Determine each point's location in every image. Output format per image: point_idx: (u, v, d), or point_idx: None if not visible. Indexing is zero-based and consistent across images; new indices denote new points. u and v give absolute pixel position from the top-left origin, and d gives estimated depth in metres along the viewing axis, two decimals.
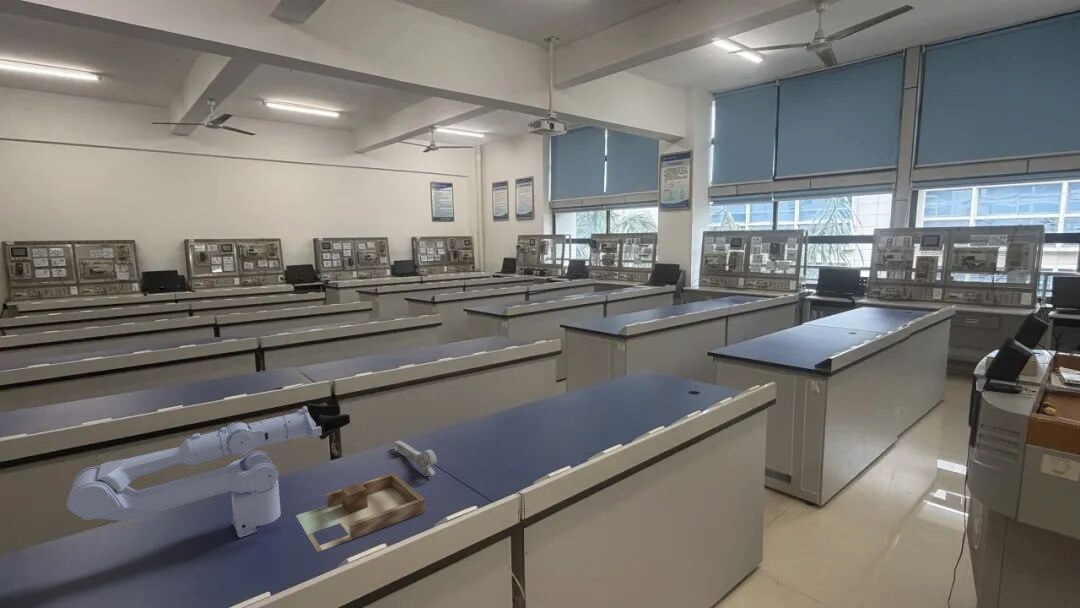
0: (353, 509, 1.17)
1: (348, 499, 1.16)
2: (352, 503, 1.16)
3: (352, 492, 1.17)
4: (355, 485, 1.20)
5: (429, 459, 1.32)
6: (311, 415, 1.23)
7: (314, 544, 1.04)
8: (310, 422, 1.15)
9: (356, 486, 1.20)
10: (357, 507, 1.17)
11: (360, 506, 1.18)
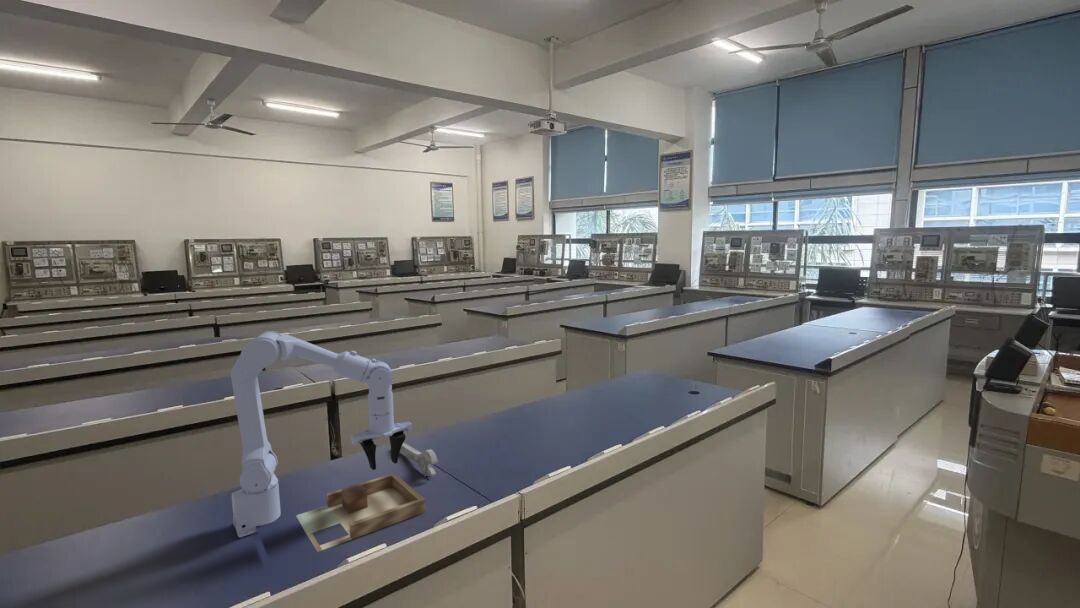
0: (353, 509, 1.17)
1: (348, 499, 1.16)
2: (352, 503, 1.16)
3: (352, 492, 1.17)
4: (355, 485, 1.20)
5: (430, 459, 1.32)
6: (393, 436, 1.24)
7: (314, 544, 1.04)
8: (366, 436, 1.18)
9: (356, 486, 1.20)
10: (357, 507, 1.17)
11: (360, 506, 1.18)
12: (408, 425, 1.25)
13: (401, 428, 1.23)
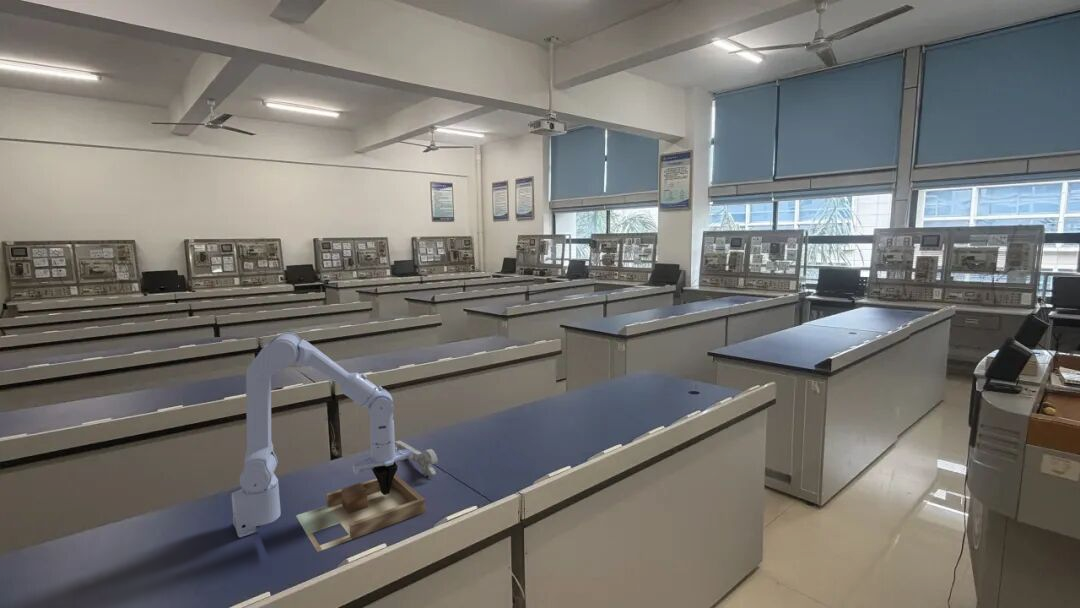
0: (353, 509, 1.17)
1: (348, 499, 1.16)
2: (352, 503, 1.16)
3: (352, 492, 1.17)
4: (355, 485, 1.20)
5: (430, 459, 1.33)
6: (385, 466, 1.23)
7: (314, 544, 1.04)
8: (368, 465, 1.19)
9: (356, 486, 1.20)
10: (357, 507, 1.17)
11: (360, 506, 1.18)
12: (409, 452, 1.26)
13: (402, 456, 1.24)
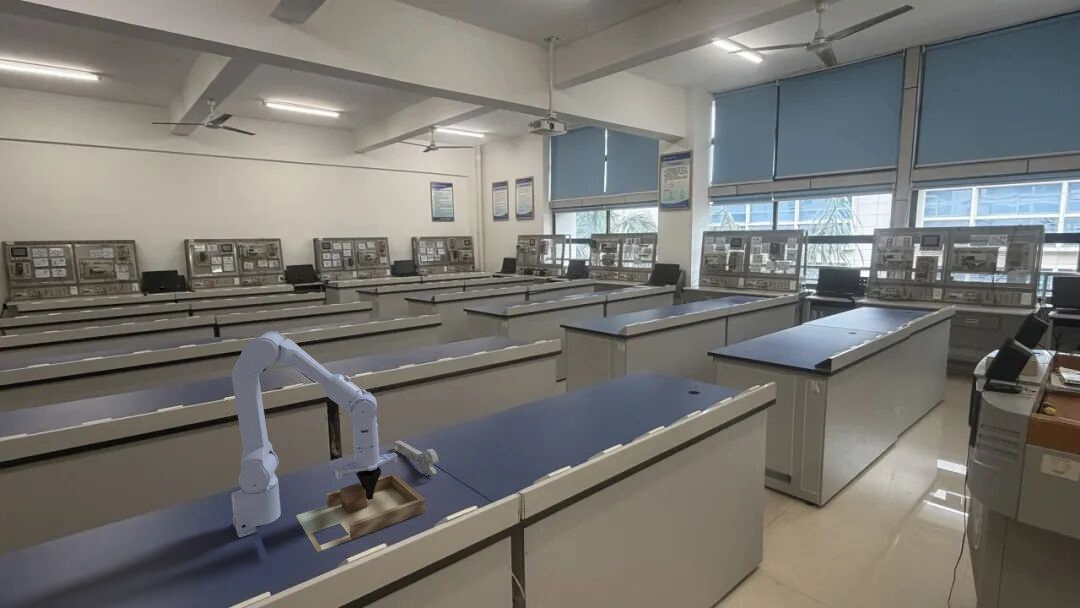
0: (352, 509, 1.16)
1: (347, 499, 1.15)
2: (351, 504, 1.16)
3: (351, 493, 1.17)
4: (354, 485, 1.20)
5: (431, 458, 1.33)
6: (368, 471, 1.20)
7: (314, 544, 1.04)
8: (350, 470, 1.16)
9: (355, 486, 1.19)
10: (356, 507, 1.17)
11: (359, 506, 1.17)
12: (394, 457, 1.23)
13: (387, 460, 1.21)
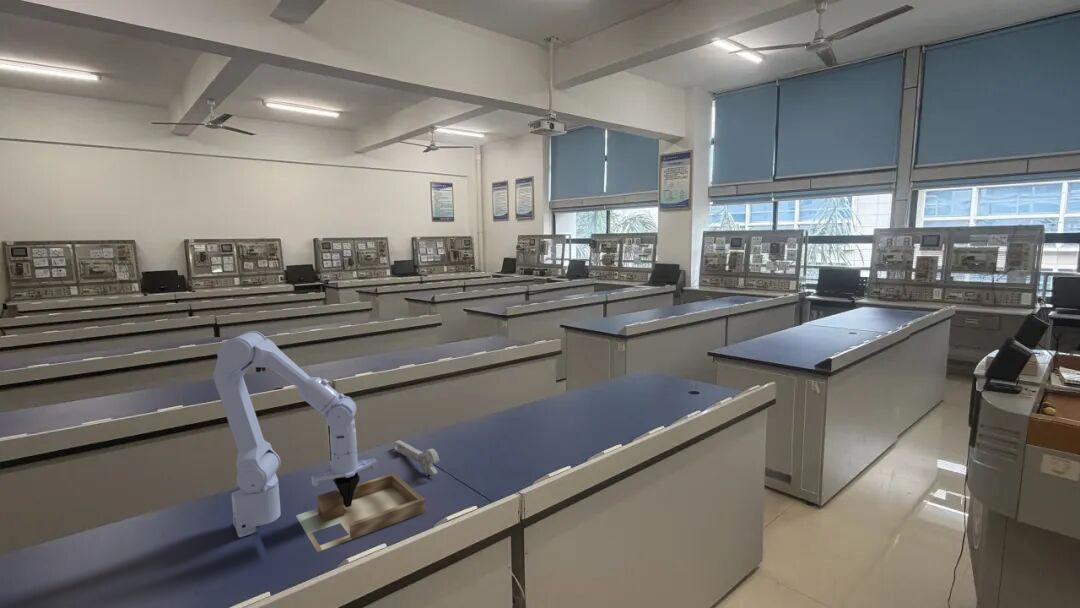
0: (329, 517, 1.13)
1: (323, 507, 1.12)
2: (328, 511, 1.13)
3: (327, 500, 1.13)
4: (331, 492, 1.17)
5: (431, 458, 1.33)
6: (346, 477, 1.17)
7: (314, 544, 1.04)
8: (327, 477, 1.13)
9: (332, 493, 1.16)
10: (333, 515, 1.14)
11: (336, 514, 1.14)
12: (373, 463, 1.20)
13: (365, 466, 1.18)
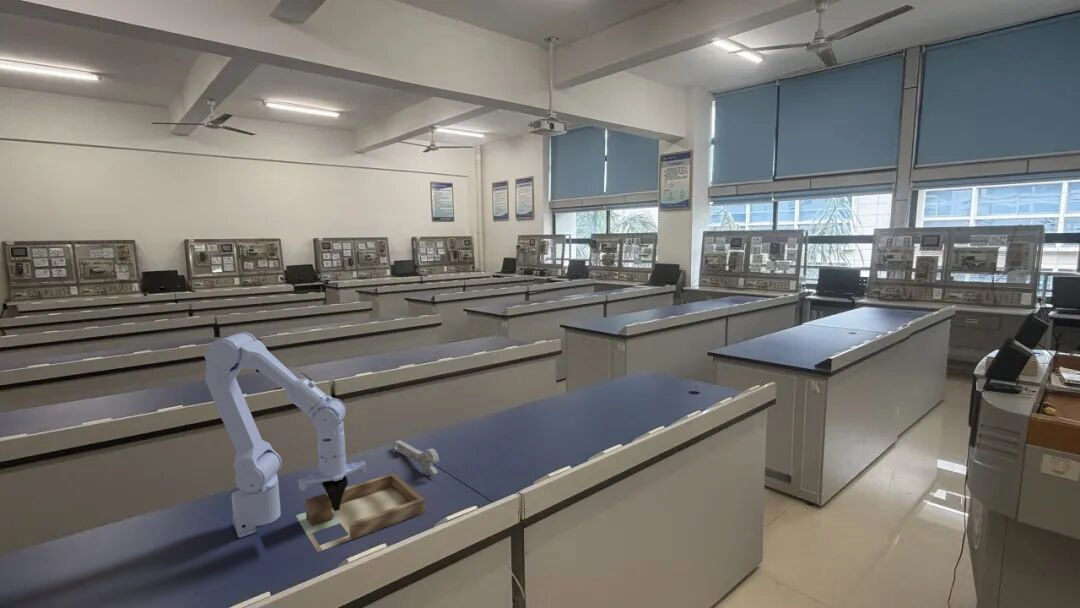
0: (317, 521, 1.11)
1: (310, 511, 1.10)
2: (316, 515, 1.11)
3: (315, 504, 1.12)
4: (320, 496, 1.15)
5: (431, 458, 1.33)
6: (334, 481, 1.15)
7: (314, 544, 1.04)
8: (315, 480, 1.11)
9: (320, 497, 1.15)
10: (321, 519, 1.12)
11: (324, 518, 1.12)
12: (362, 466, 1.18)
13: (354, 469, 1.16)
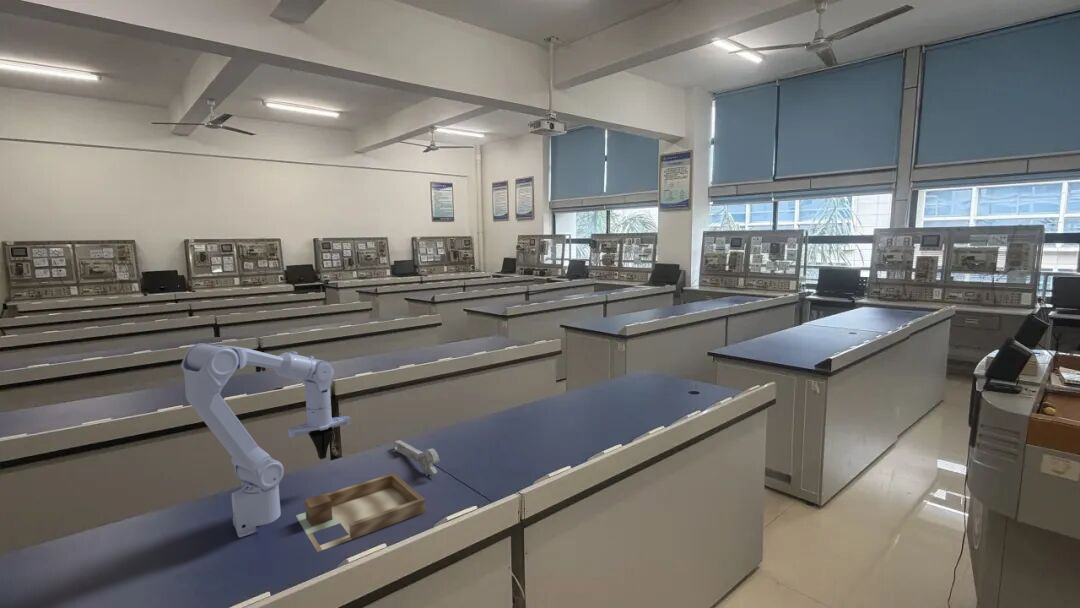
0: (316, 521, 1.11)
1: (310, 511, 1.10)
2: (315, 516, 1.11)
3: (315, 504, 1.12)
4: (320, 496, 1.15)
5: (431, 458, 1.33)
6: (321, 431, 1.27)
7: (314, 544, 1.04)
8: (302, 429, 1.23)
9: (320, 497, 1.15)
10: (321, 519, 1.12)
11: (324, 518, 1.12)
12: (346, 419, 1.30)
13: (339, 422, 1.28)
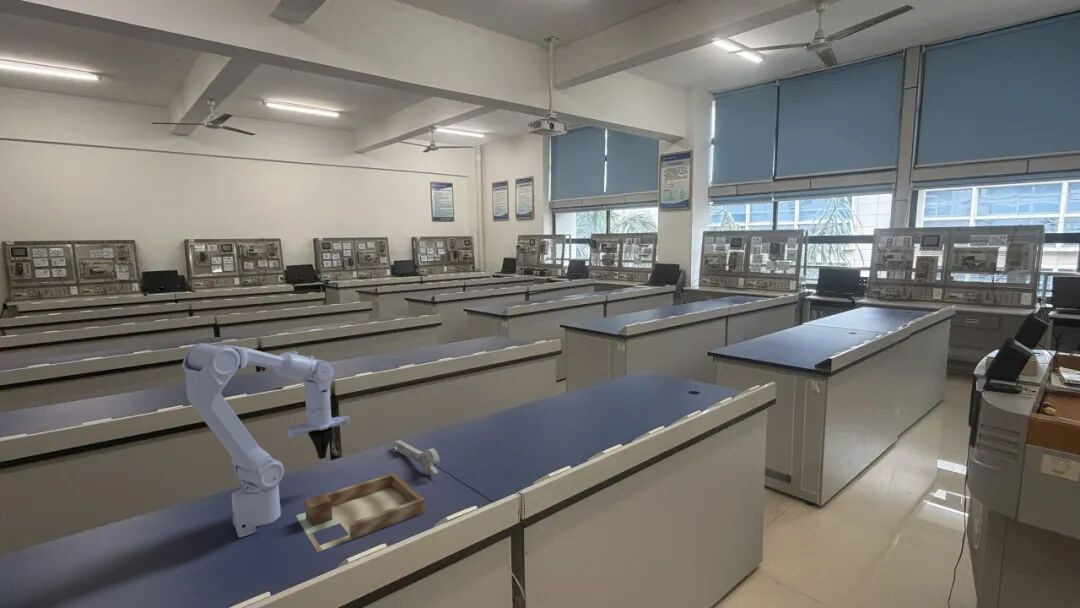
0: (316, 521, 1.11)
1: (310, 511, 1.10)
2: (315, 516, 1.11)
3: (315, 504, 1.12)
4: (320, 496, 1.15)
5: (432, 458, 1.33)
6: (321, 431, 1.27)
7: (314, 544, 1.04)
8: (302, 429, 1.23)
9: (320, 497, 1.15)
10: (321, 519, 1.12)
11: (324, 518, 1.12)
12: (346, 419, 1.30)
13: (338, 421, 1.28)
